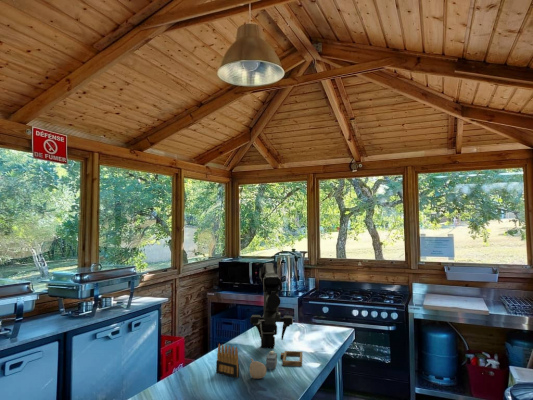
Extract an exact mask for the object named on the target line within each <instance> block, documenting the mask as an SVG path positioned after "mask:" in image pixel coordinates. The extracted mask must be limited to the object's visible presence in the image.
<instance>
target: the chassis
mask: <svg viewBox="0 0 533 400" xmlns="http://www.w3.org/2000/svg"><path fill="white" fill-rule="evenodd" d="M303 355H304V354H303V351H302V350H301V351H297V350H293V351H292V350H284V352H281V353H280V359H282V366H290V367H302V366H303ZM287 356H289V357H291V356H292V357H295V356H296V357H299V360H287Z"/></svg>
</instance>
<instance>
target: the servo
mask: <svg viewBox="0 0 533 400" xmlns="http://www.w3.org/2000/svg"><path fill="white" fill-rule="evenodd" d="M277 364H278V353H277V352H275V351H274V350H270V351H269V352H267V355H266V358H265V366H266V369H267V370H268V369H271V370H274V369H276V367H277Z"/></svg>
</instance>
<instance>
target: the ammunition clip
mask: <svg viewBox="0 0 533 400" xmlns="http://www.w3.org/2000/svg"><path fill="white" fill-rule="evenodd" d="M217 346H218V347H217V354H216V362H215V363H216V367H215V369H216V370H215V373H216V374H217V375H222V376H225V377H230V378H234V379H238V378H239V377H240V364H239V349H238V347H237V346H236V347H234V346H232V347H231V345H227V344H225V345H224V344H223V343H222V344H220V342H219V343H218V345H217Z"/></svg>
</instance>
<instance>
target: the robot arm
mask: <svg viewBox="0 0 533 400" xmlns="http://www.w3.org/2000/svg"><path fill="white" fill-rule="evenodd" d="M259 278H260V281H261V284H262V285H263V287H262V288H263V315H262V316H261V315H260V314H252V315H251V316H250V321H249V323H250V324H252V326H253V327H254V326H255V327H256V329H257V331H258V334H259V337H260V338H259V339H260V349H274V347H275V344H276V337H275V336H276V335H278V325H277V323H283V324H282V329H281V341H283V340H284V337H285V333H286V330H287V328H288V327H290V326H293V323H294V316H292V315H283V317H281V312H279V306H280V305H281V298H280V296H279V293H281V292H282V290H283V282H282V280H281V278H280V276H279V274H278V273H277V268H276V267H275V264H274V263H271V262H270V263H263V266H262V267H260V268H259Z"/></svg>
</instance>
